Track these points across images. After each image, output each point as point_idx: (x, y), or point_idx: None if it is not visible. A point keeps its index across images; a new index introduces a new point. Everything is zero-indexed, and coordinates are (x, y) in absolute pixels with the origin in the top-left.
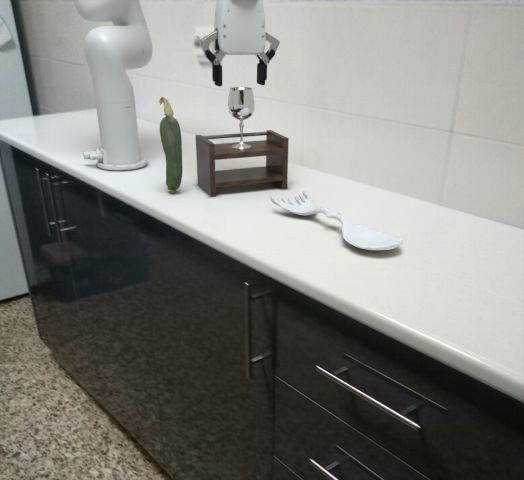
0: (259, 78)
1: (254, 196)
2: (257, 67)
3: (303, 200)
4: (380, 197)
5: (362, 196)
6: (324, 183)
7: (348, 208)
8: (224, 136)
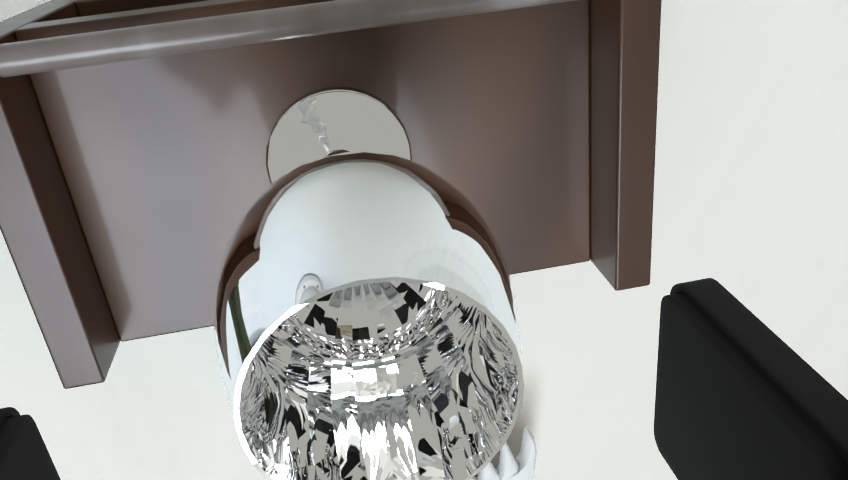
0: (690, 420)
1: None
2: (791, 445)
3: (501, 467)
4: (836, 342)
5: (785, 322)
6: (756, 108)
7: (654, 440)
8: (218, 48)
